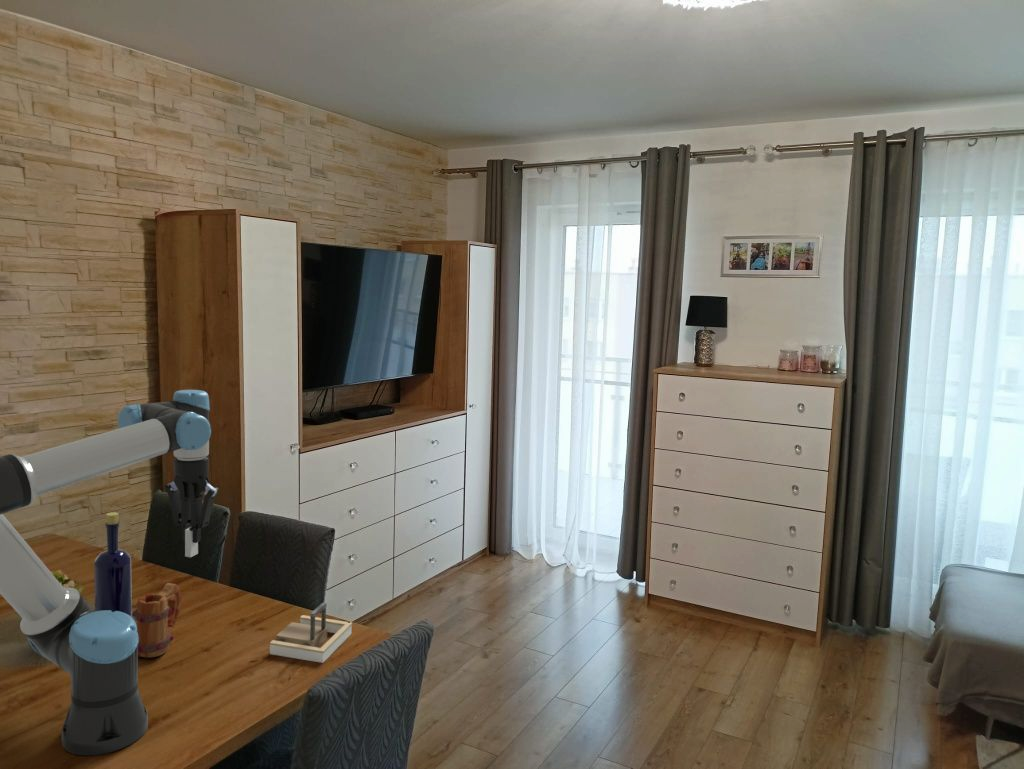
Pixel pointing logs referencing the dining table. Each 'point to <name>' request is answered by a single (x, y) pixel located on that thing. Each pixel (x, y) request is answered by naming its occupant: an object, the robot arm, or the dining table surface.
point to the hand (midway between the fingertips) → (191, 554)
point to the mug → (157, 620)
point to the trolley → (306, 630)
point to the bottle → (113, 573)
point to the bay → (309, 652)
